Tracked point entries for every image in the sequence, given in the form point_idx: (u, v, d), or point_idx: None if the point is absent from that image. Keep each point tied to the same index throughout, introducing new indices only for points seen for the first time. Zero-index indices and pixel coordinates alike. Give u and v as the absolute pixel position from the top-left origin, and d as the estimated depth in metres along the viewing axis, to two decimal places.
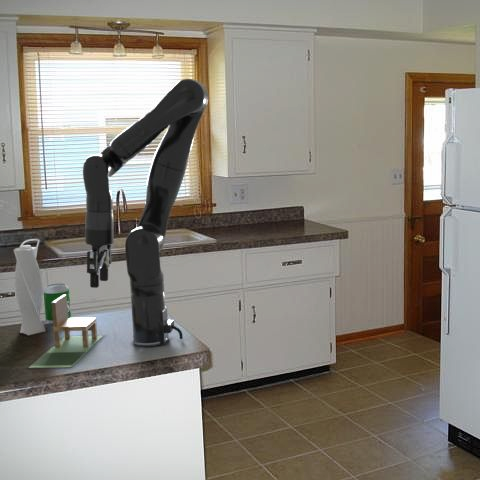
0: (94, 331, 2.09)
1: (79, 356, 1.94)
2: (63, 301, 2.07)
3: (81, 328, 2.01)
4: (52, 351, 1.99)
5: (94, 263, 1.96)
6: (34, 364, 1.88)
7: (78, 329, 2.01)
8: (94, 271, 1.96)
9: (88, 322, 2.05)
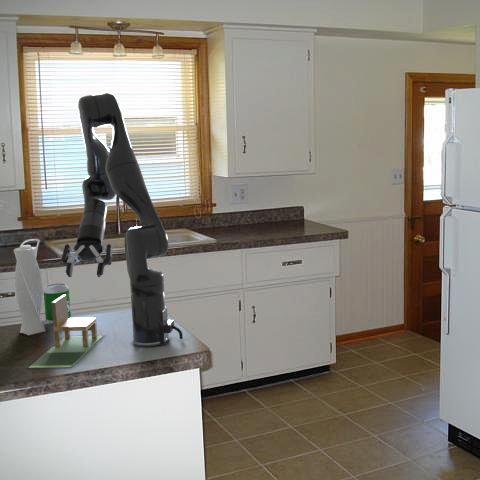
0: (94, 331, 2.09)
1: (79, 356, 1.94)
2: (63, 301, 2.07)
3: (81, 328, 2.01)
4: (52, 351, 1.99)
5: None
6: (34, 364, 1.88)
7: (78, 329, 2.01)
8: None
9: (88, 322, 2.05)
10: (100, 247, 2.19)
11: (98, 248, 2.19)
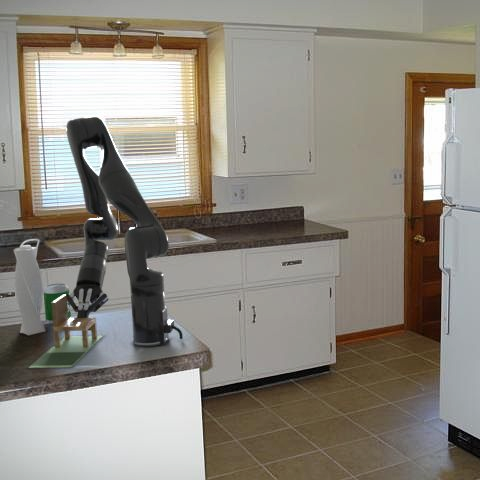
0: (94, 331, 2.09)
1: (79, 356, 1.94)
2: (63, 301, 2.07)
3: (81, 328, 2.01)
4: (52, 351, 1.99)
5: (69, 303, 2.14)
6: (34, 364, 1.88)
7: (78, 329, 2.01)
8: None
9: (88, 322, 2.05)
10: (98, 291, 2.16)
11: (95, 291, 2.16)
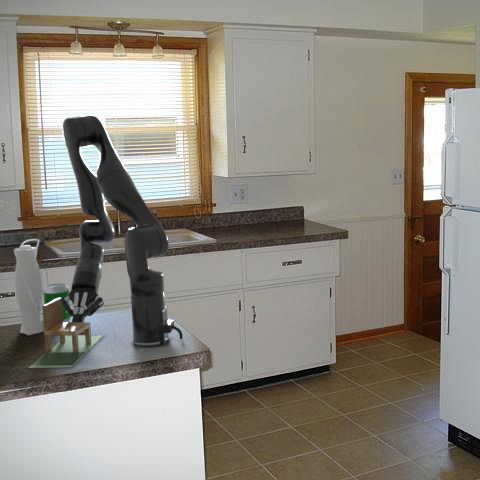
0: (88, 336, 2.05)
1: (79, 356, 1.94)
2: (57, 304, 2.03)
3: (71, 333, 1.97)
4: (52, 351, 1.99)
5: None
6: (34, 364, 1.88)
7: (68, 334, 1.97)
8: None
9: (80, 327, 2.00)
10: (93, 295, 2.12)
11: (91, 295, 2.12)
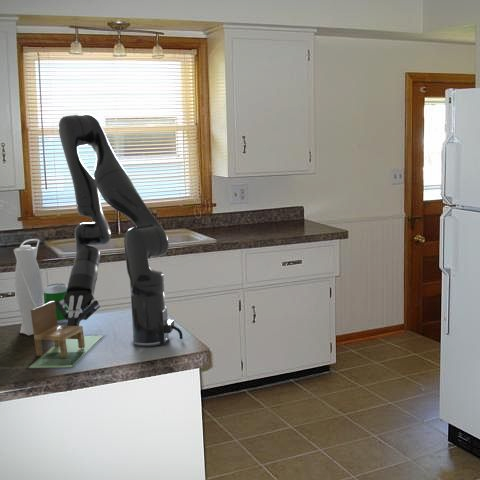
0: (80, 340, 2.00)
1: (79, 356, 1.94)
2: (49, 308, 1.99)
3: (58, 338, 1.92)
4: (52, 351, 1.99)
5: (59, 310, 2.06)
6: (34, 364, 1.88)
7: (55, 339, 1.93)
8: None
9: (69, 331, 1.96)
10: (89, 298, 2.08)
11: (86, 298, 2.08)
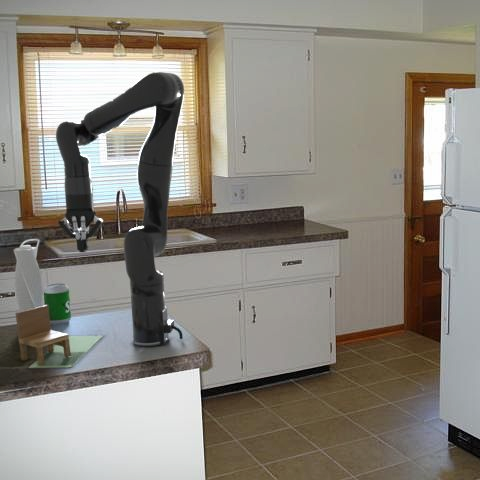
0: (65, 348, 1.93)
1: (79, 356, 1.94)
2: (40, 312, 1.95)
3: (35, 344, 1.87)
4: None
5: None
6: (34, 364, 1.88)
7: (33, 345, 1.88)
8: None
9: (50, 338, 1.90)
10: (91, 217, 2.08)
11: (89, 217, 2.08)
